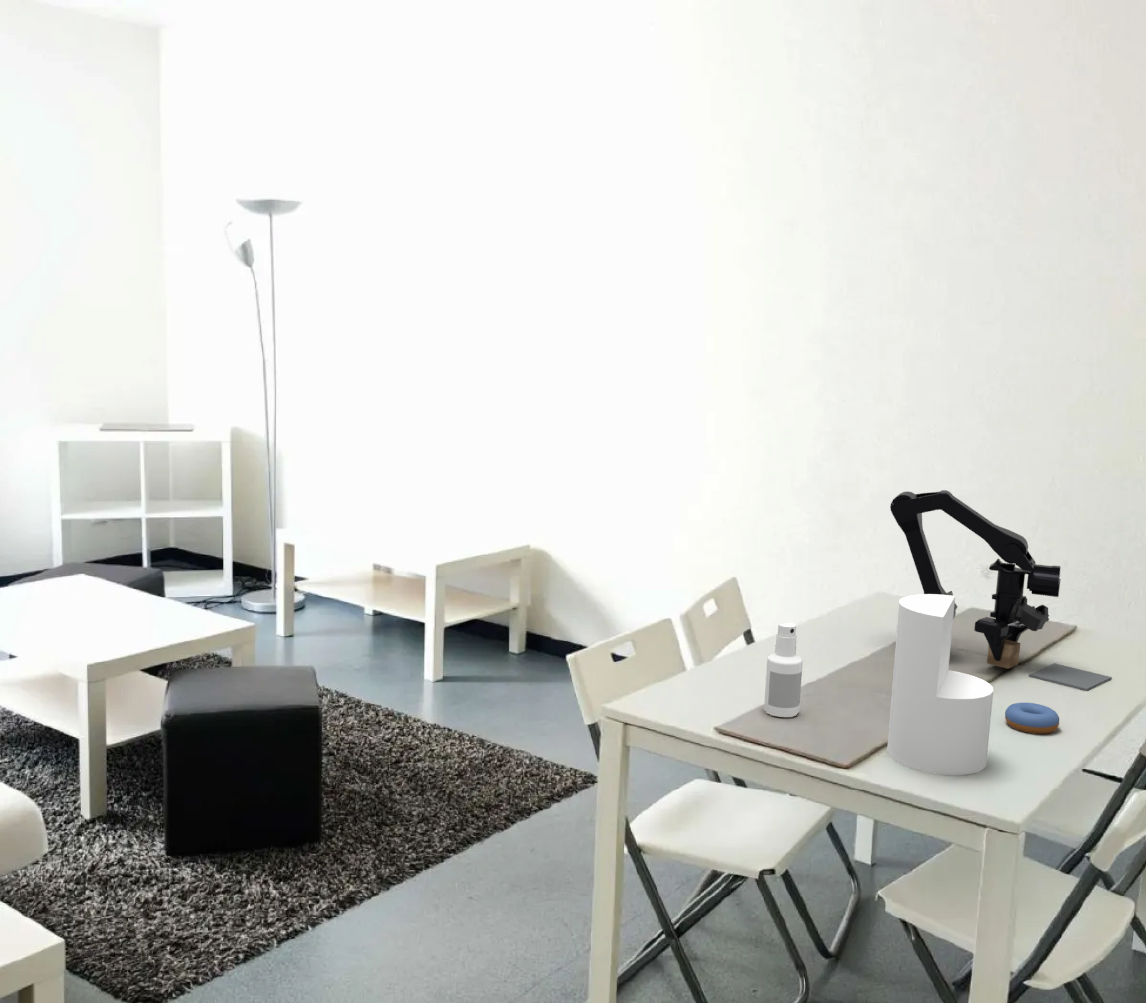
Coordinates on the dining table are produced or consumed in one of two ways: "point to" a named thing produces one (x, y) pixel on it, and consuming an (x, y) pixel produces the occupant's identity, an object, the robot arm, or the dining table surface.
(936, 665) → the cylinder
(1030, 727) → the doughnut
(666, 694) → the dining table surface
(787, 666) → the spray bottle
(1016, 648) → the walnut cube
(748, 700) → the dining table surface
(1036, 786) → the dining table surface
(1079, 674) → the charcoal mat
